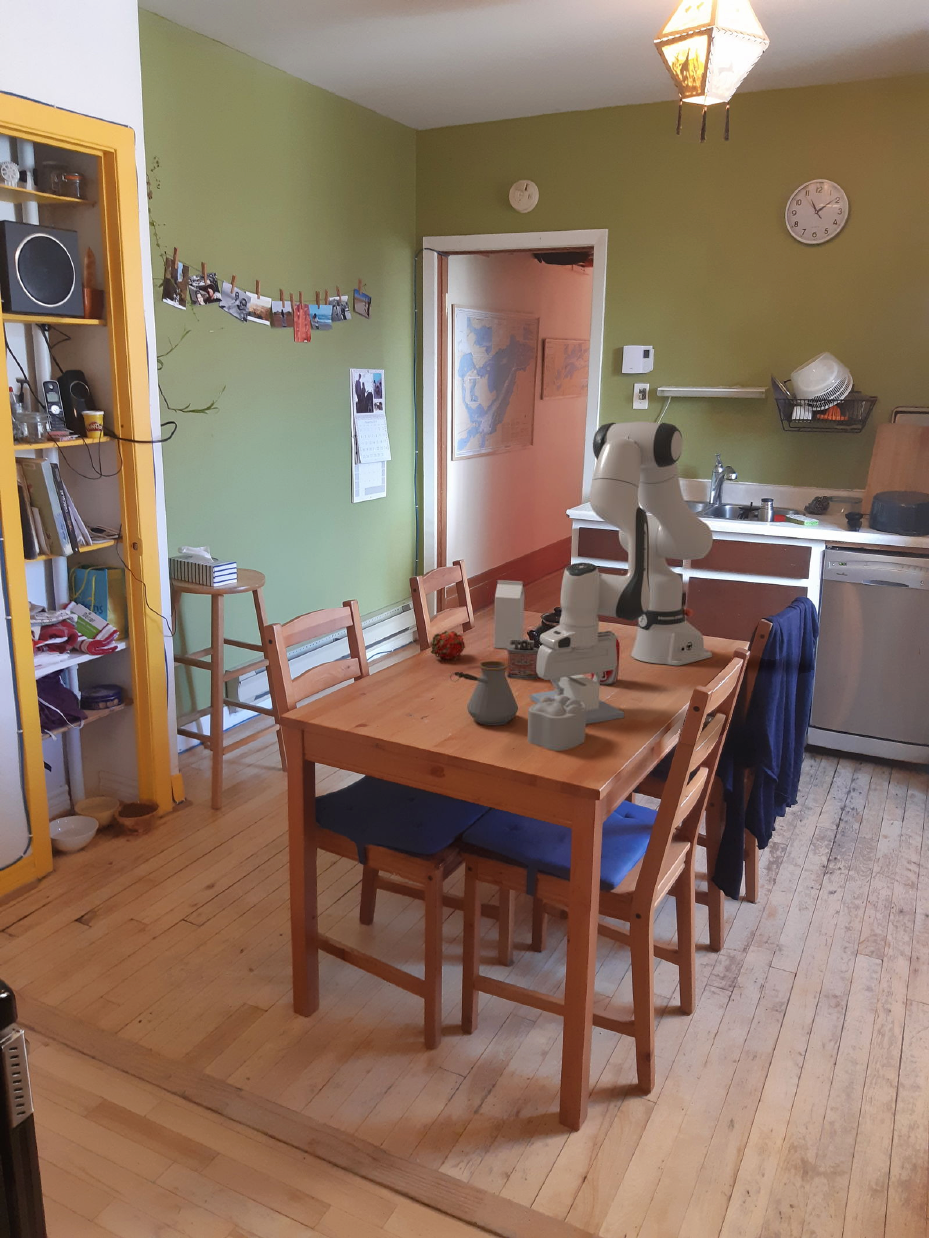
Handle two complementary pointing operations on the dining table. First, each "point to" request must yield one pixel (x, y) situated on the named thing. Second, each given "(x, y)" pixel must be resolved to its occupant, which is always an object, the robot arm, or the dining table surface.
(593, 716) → the board
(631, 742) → the dining table surface
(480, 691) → the coffee pot
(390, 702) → the dining table surface
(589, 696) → the block
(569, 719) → the lumpy-topped squat cylinder
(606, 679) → the soda can
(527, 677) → the lighter
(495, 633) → the milk carton
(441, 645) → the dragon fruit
